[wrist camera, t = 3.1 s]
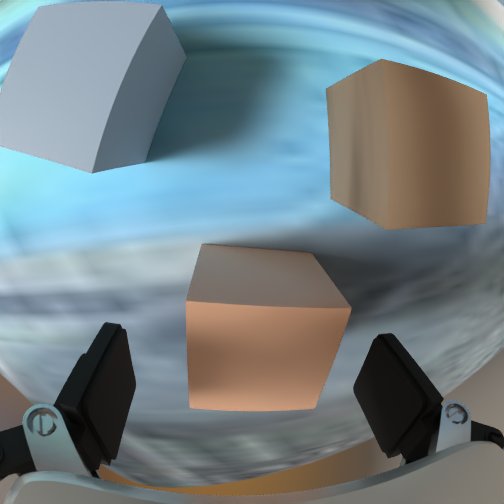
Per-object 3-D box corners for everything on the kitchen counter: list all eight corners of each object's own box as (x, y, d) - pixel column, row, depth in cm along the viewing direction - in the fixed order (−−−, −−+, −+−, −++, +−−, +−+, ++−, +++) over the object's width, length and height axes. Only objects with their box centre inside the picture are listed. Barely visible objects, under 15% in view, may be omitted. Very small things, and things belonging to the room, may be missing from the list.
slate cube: (187, 57, 9) (162, 4, 5) (145, 162, 11) (91, 173, 6) (94, 42, 8) (38, 6, 4) (58, 138, 10) (-13, 143, 5)
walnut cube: (415, 102, 10) (486, 94, 6) (416, 197, 12) (485, 224, 8) (325, 89, 10) (381, 59, 6) (330, 198, 12) (386, 229, 7)
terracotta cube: (310, 252, 13) (351, 308, 8) (292, 337, 14) (314, 408, 10) (202, 243, 12) (186, 300, 8) (199, 333, 14) (189, 407, 9)
